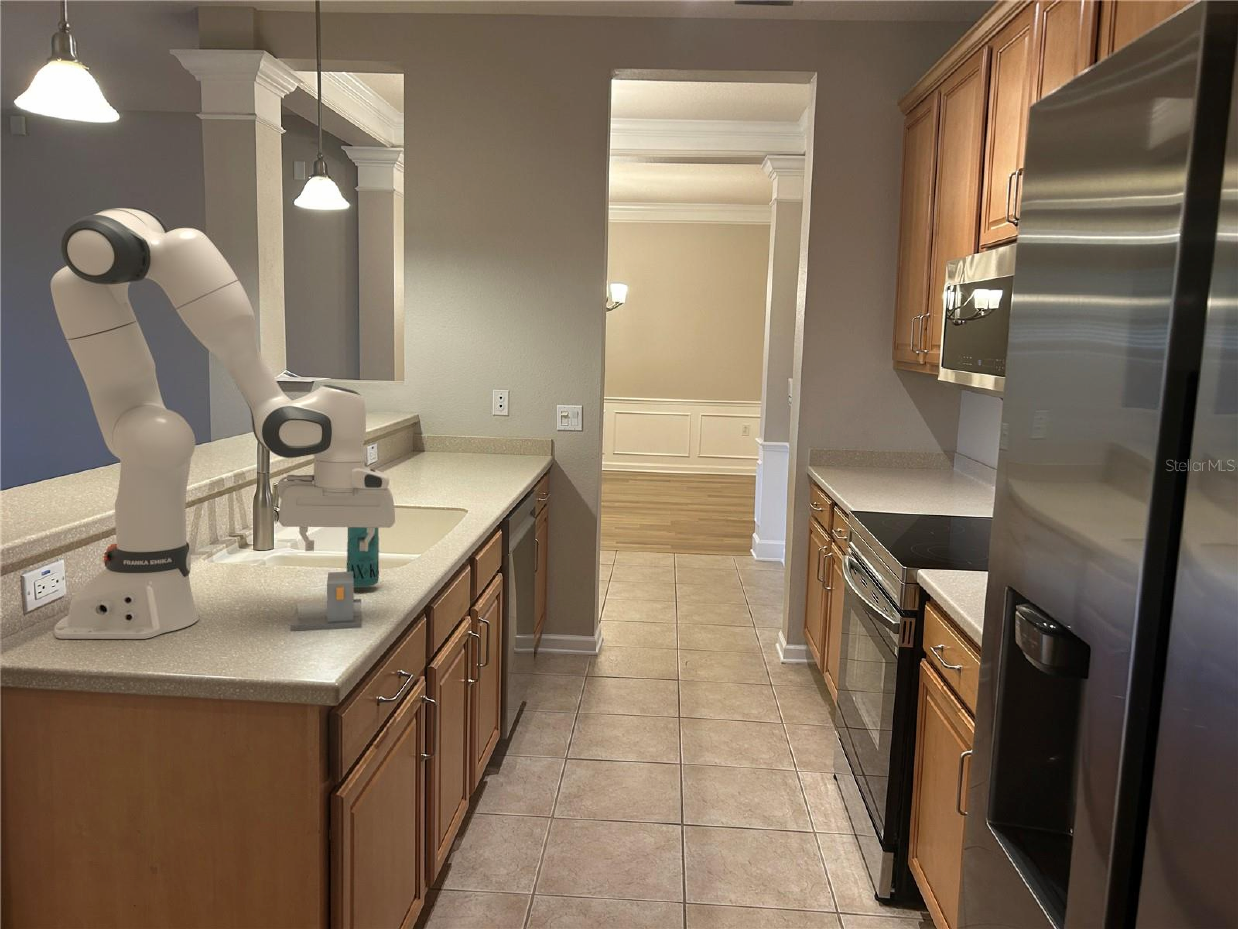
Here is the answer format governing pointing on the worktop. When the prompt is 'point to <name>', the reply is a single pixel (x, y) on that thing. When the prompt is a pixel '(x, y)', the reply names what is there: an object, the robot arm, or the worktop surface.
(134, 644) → the worktop surface
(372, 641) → the worktop surface
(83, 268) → the robot arm
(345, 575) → the module
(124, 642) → the worktop surface
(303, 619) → the grey ledge plate
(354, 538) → the beverage bottle
